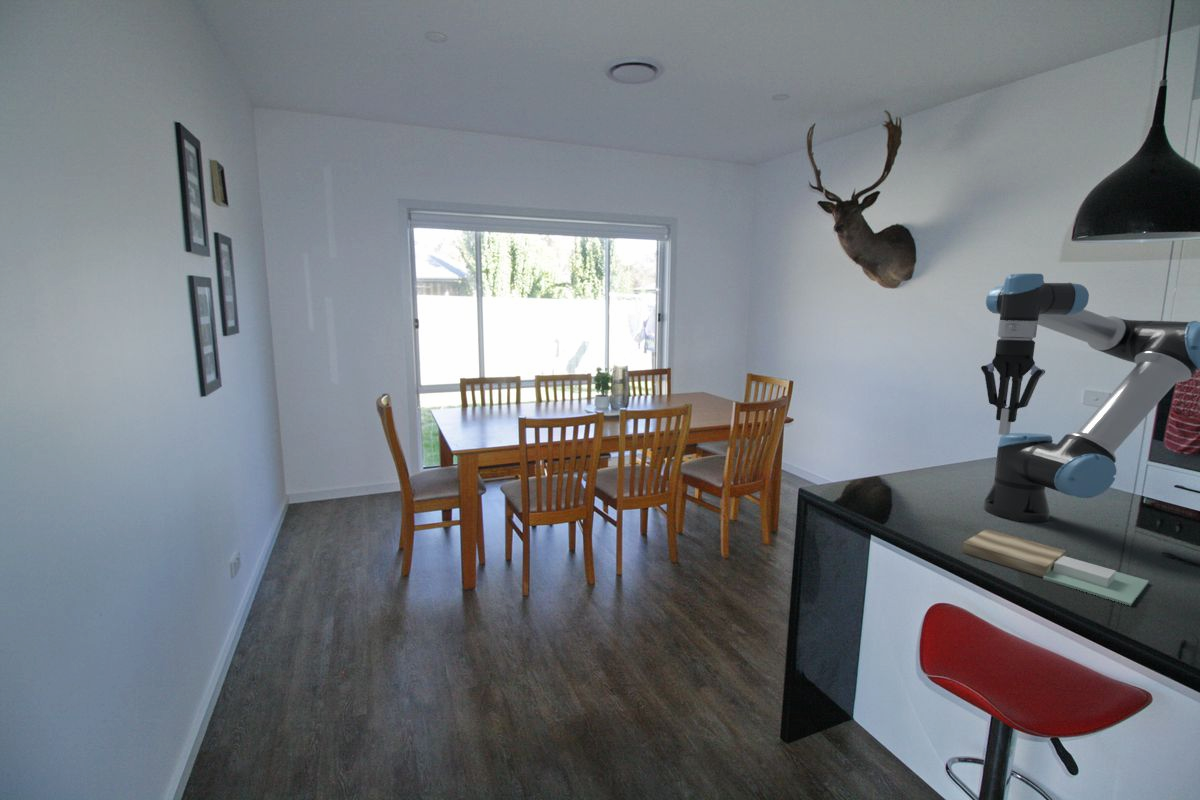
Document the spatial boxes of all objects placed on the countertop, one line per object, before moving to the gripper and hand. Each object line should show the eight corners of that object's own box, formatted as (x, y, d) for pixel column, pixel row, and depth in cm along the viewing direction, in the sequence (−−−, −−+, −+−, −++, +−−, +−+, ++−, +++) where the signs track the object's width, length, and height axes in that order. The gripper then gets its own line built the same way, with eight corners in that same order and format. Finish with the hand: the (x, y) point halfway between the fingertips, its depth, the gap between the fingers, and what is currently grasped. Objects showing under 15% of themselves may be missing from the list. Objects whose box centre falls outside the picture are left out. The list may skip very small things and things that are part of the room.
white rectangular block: (1053, 571, 124) (1054, 562, 124) (1062, 564, 128) (1063, 555, 127) (1106, 587, 117) (1108, 578, 117) (1114, 579, 120) (1116, 570, 120)
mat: (1065, 559, 131) (1065, 557, 131) (1148, 583, 120) (1148, 580, 120) (1042, 579, 122) (1043, 576, 122) (1130, 606, 111) (1130, 603, 111)
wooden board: (985, 538, 143) (986, 529, 143) (1064, 561, 131) (1065, 550, 130) (962, 552, 135) (963, 542, 134) (1044, 577, 122) (1045, 566, 122)
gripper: (979, 337, 140) (968, 431, 144) (1043, 340, 130) (1030, 441, 134) (991, 337, 145) (980, 427, 149) (1054, 339, 135) (1040, 437, 139)
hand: (1003, 434), depth 141 cm, fingers closed
